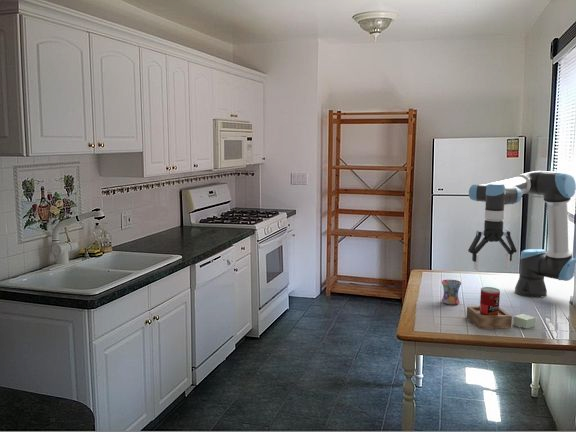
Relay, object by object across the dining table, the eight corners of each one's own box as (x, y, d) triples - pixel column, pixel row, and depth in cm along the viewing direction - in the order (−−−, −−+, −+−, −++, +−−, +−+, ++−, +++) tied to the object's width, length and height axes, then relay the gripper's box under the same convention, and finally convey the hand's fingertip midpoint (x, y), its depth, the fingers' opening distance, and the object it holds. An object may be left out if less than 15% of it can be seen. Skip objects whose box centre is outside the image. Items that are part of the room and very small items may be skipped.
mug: (456, 307, 261) (457, 285, 259) (437, 303, 266) (438, 282, 264) (464, 301, 270) (465, 280, 269) (446, 297, 276) (447, 277, 274)
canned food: (489, 317, 233) (491, 292, 231) (475, 312, 240) (476, 288, 238) (502, 315, 236) (504, 290, 235) (488, 309, 243) (489, 285, 242)
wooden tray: (497, 317, 246) (497, 306, 245) (511, 327, 232) (511, 316, 231) (466, 317, 245) (467, 306, 245) (478, 328, 232) (479, 316, 231)
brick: (522, 322, 240) (522, 313, 239) (534, 326, 235) (535, 317, 234) (513, 325, 236) (514, 316, 236) (525, 329, 231) (526, 320, 231)
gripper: (518, 218, 236) (515, 266, 240) (461, 218, 235) (459, 267, 239) (527, 220, 229) (524, 270, 232) (468, 221, 228) (466, 271, 231)
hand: (491, 268), depth 235 cm, fingers open, 13 cm apart
